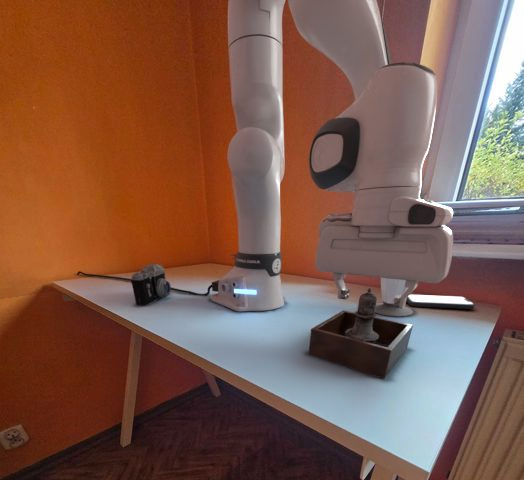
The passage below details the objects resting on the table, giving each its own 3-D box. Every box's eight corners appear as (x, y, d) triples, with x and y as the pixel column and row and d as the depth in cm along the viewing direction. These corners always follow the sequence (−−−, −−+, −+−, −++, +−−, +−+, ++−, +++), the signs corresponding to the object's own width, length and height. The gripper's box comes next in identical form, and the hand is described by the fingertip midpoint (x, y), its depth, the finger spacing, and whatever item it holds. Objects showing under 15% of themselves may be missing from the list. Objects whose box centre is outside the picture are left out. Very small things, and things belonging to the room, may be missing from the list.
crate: (308, 353, 50) (310, 328, 48) (340, 331, 60) (343, 310, 57) (384, 379, 43) (391, 350, 40) (406, 349, 52) (413, 324, 50)
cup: (416, 319, 67) (442, 222, 58) (367, 314, 70) (384, 222, 61) (409, 305, 77) (431, 221, 67) (367, 302, 80) (381, 221, 71)
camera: (155, 307, 76) (149, 270, 71) (133, 305, 77) (125, 269, 72) (178, 293, 89) (174, 261, 84) (159, 292, 90) (153, 261, 85)
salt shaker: (353, 360, 48) (365, 293, 43) (336, 346, 53) (345, 285, 48) (382, 356, 49) (396, 291, 44) (363, 343, 54) (374, 283, 49)
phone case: (410, 307, 76) (475, 310, 73) (411, 301, 76) (477, 304, 72) (403, 299, 84) (462, 301, 81) (404, 293, 83) (463, 296, 80)
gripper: (311, 214, 44) (307, 297, 50) (461, 210, 33) (432, 319, 39) (328, 214, 49) (323, 290, 55) (467, 209, 37) (440, 308, 43)
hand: (369, 302), depth 47 cm, fingers open, 8 cm apart
